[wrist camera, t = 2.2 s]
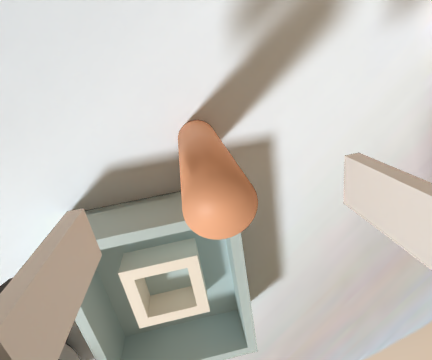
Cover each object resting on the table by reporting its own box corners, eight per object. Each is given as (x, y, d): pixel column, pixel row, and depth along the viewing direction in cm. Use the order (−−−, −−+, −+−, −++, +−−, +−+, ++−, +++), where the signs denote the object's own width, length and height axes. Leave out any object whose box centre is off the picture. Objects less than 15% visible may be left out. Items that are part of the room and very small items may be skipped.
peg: (174, 123, 24) (174, 180, 12) (212, 116, 25) (253, 164, 12) (182, 160, 26) (190, 246, 13) (218, 153, 26) (260, 230, 13)
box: (67, 214, 26) (39, 252, 21) (224, 182, 27) (237, 209, 22) (121, 336, 33) (110, 389, 28) (244, 306, 34) (257, 351, 29)
